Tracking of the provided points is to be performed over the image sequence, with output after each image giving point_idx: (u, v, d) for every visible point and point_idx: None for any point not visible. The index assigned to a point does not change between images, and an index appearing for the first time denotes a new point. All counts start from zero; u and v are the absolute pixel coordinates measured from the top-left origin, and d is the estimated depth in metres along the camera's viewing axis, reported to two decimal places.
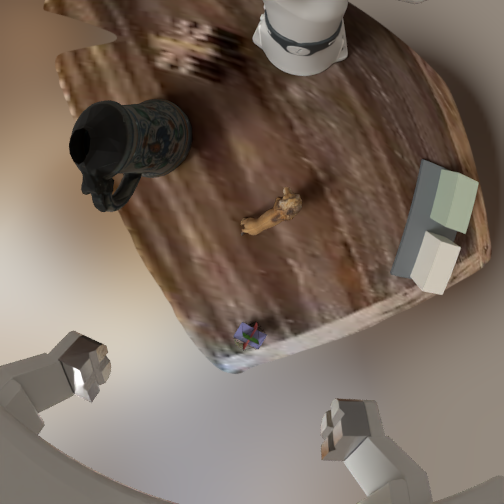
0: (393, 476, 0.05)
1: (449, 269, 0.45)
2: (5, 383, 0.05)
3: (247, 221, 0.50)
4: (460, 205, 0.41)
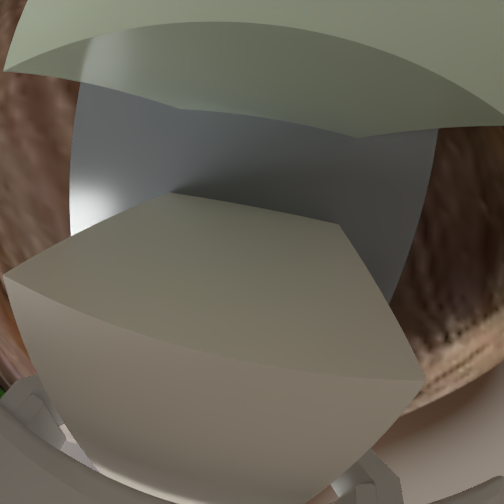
0: (363, 479, 0.05)
1: (263, 502, 0.04)
2: (25, 399, 0.05)
3: None
4: None
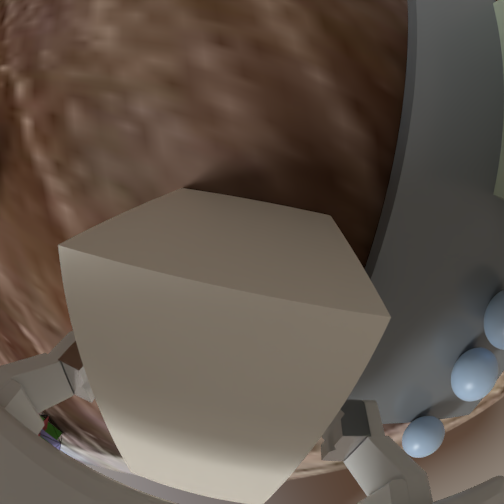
0: (393, 476, 0.05)
1: (267, 457, 0.06)
2: (5, 383, 0.05)
3: None
4: None
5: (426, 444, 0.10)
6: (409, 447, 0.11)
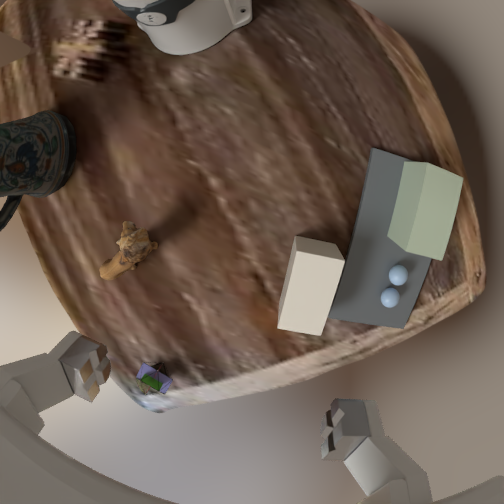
0: (393, 476, 0.05)
1: (326, 297, 0.33)
2: (5, 383, 0.05)
3: (102, 264, 0.38)
4: (432, 216, 0.27)
5: None
6: None
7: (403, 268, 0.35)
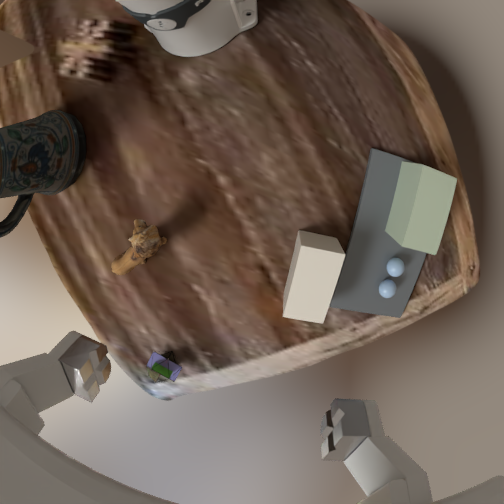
0: (393, 476, 0.05)
1: (327, 287, 0.36)
2: (5, 383, 0.05)
3: None
4: (427, 214, 0.30)
5: None
6: None
7: (400, 260, 0.37)
